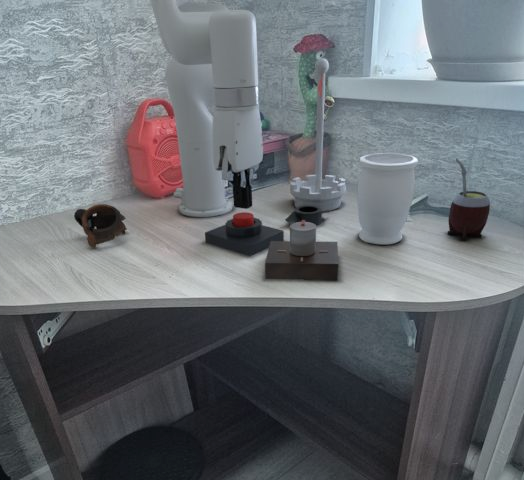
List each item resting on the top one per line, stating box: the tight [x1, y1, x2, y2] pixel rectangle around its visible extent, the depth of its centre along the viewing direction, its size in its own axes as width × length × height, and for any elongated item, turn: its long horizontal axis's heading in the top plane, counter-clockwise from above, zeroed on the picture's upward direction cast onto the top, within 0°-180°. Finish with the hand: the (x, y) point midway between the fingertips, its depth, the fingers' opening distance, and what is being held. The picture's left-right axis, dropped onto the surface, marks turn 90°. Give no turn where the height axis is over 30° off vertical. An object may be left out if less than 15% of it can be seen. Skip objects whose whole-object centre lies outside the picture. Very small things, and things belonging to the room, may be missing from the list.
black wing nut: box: [284, 205, 331, 227], centre depth 103 cm, size 8×10×3 cm
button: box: [232, 211, 255, 227], centre depth 93 cm, size 4×4×2 cm
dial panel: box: [264, 240, 339, 282], centre depth 83 cm, size 12×10×3 cm
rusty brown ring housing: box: [73, 203, 128, 249], centre depth 98 cm, size 12×10×8 cm
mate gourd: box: [447, 158, 491, 242], centre depth 90 cm, size 8×8×15 cm
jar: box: [356, 152, 419, 246], centre depth 91 cm, size 11×10×15 cm
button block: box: [204, 217, 285, 257], centre depth 95 cm, size 12×10×4 cm
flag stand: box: [289, 57, 347, 211], centre depth 107 cm, size 13×13×30 cm
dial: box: [289, 220, 317, 256], centre depth 81 cm, size 4×4×5 cm
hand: (243, 206), depth 92 cm, fingers closed
